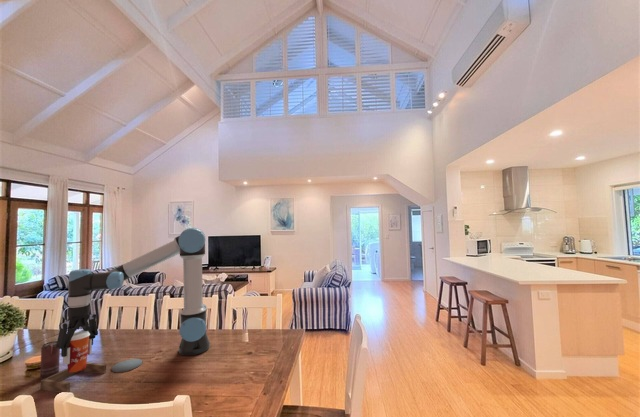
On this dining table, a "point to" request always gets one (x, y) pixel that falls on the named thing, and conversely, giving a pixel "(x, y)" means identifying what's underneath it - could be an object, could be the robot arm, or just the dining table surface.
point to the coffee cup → (78, 351)
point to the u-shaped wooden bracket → (56, 380)
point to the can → (49, 360)
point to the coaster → (127, 365)
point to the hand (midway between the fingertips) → (77, 358)
